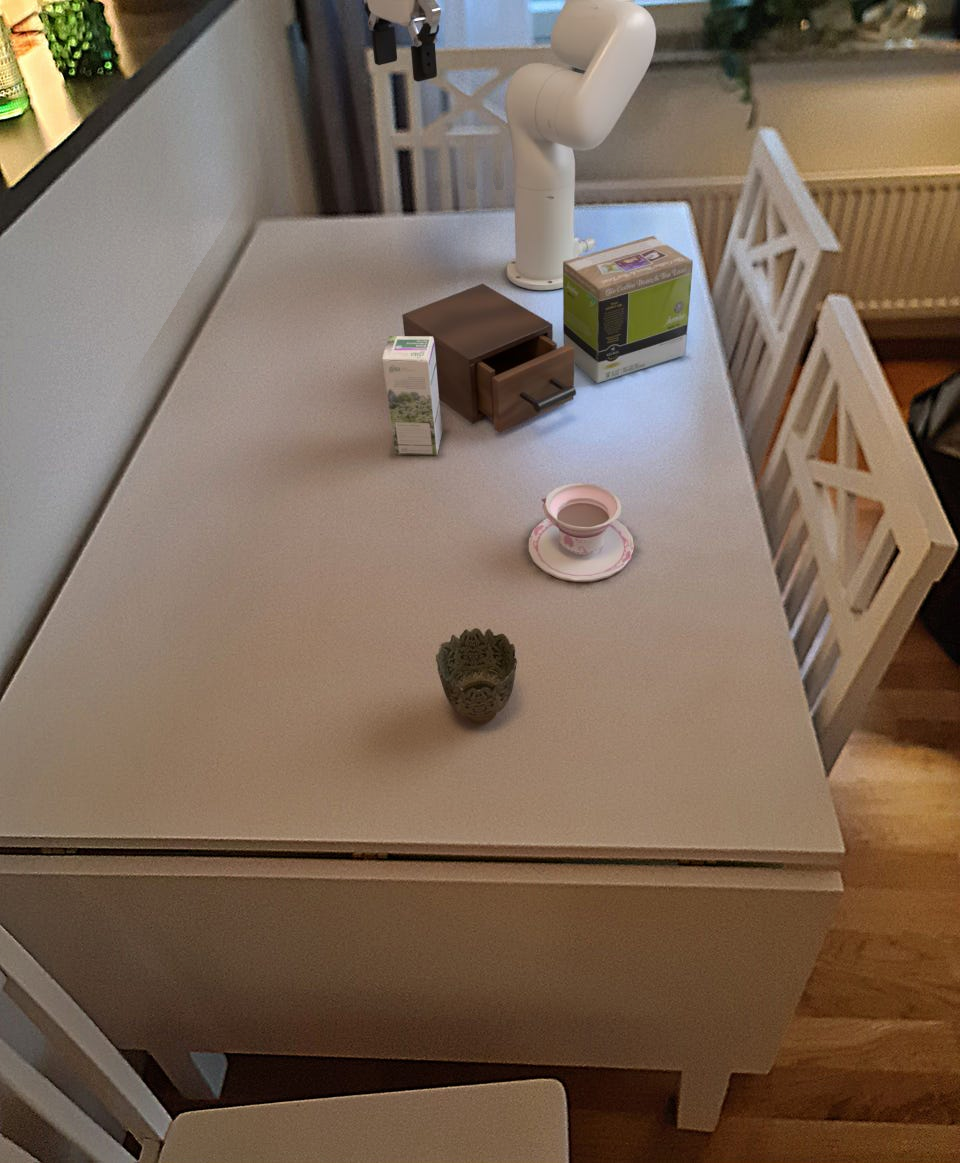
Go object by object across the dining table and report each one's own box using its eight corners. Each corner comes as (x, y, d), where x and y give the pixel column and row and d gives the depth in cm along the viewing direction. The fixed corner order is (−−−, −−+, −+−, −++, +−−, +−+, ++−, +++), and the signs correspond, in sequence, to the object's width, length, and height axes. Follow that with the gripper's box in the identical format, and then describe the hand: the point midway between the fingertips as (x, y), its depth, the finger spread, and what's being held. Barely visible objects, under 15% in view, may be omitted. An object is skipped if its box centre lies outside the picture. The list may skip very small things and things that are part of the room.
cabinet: (552, 387, 133) (552, 324, 126) (473, 424, 127) (468, 359, 121) (485, 344, 142) (482, 283, 136) (409, 376, 137) (401, 314, 130)
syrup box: (443, 431, 126) (434, 333, 116) (437, 457, 122) (427, 358, 112) (401, 430, 127) (388, 333, 117) (394, 457, 123) (380, 358, 113)
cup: (440, 685, 95) (433, 630, 89) (514, 678, 95) (511, 623, 89) (444, 746, 89) (438, 691, 84) (522, 738, 89) (521, 683, 84)
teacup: (649, 530, 110) (653, 488, 106) (609, 596, 102) (611, 554, 98) (555, 503, 114) (555, 462, 110) (510, 564, 107) (508, 522, 103)
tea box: (647, 328, 144) (655, 232, 133) (686, 357, 137) (697, 259, 127) (560, 354, 139) (561, 257, 129) (595, 386, 133) (599, 287, 122)
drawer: (594, 412, 126) (596, 360, 121) (519, 448, 121) (518, 395, 116) (508, 356, 138) (506, 306, 132) (436, 387, 133) (432, 336, 127)
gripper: (458, -86, 107) (466, 79, 119) (381, -102, 118) (395, 51, 129) (401, -76, 104) (415, 92, 116) (327, -93, 115) (347, 62, 126)
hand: (405, 70), depth 123 cm, fingers open, 9 cm apart
